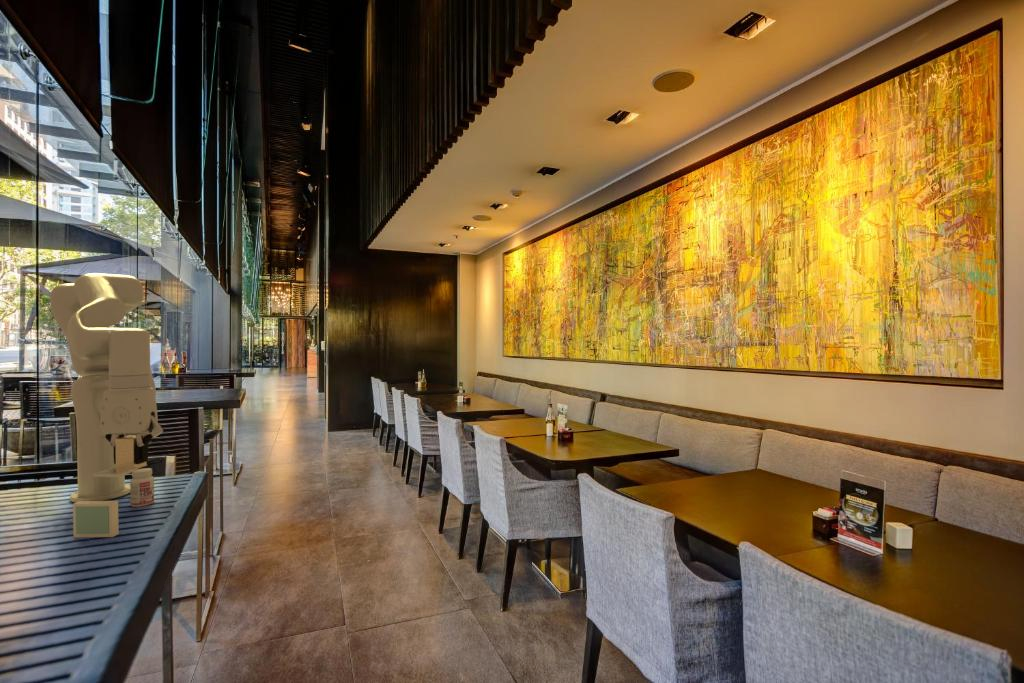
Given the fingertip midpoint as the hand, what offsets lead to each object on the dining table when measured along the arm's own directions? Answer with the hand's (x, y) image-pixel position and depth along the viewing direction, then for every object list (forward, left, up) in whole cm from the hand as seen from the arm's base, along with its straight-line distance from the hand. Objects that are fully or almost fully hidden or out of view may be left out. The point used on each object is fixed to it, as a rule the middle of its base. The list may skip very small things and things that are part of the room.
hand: (131, 461), depth 115 cm
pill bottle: (-10, +4, -13) cm, 17 cm away
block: (+8, -7, -13) cm, 17 cm away
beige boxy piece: (+2, -2, -1) cm, 3 cm away
